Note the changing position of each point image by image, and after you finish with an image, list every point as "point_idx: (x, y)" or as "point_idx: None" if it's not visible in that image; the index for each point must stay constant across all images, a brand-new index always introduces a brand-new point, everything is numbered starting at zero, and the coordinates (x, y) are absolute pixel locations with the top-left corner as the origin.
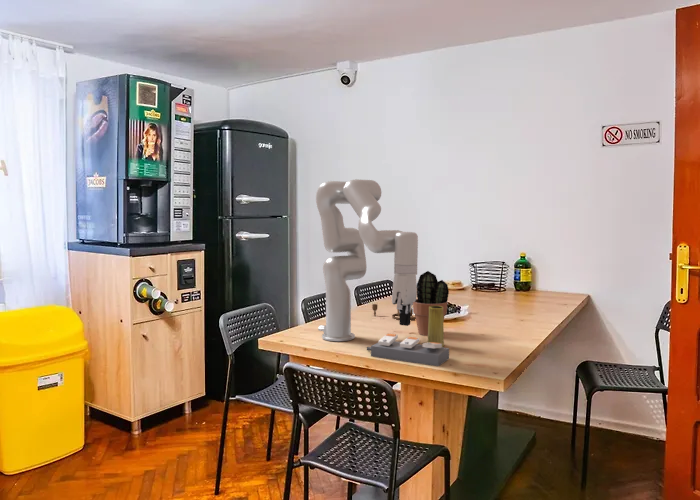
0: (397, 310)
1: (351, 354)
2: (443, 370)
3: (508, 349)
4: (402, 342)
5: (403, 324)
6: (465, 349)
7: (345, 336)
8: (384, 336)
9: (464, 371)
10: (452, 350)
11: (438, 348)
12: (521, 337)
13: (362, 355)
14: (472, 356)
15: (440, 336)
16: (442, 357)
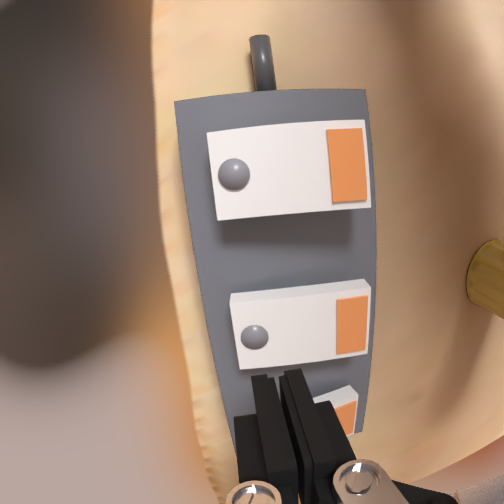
0: None
1: (155, 18)
2: (202, 449)
3: (481, 426)
4: (252, 310)
5: (255, 408)
6: (469, 369)
7: None
8: (305, 128)
9: (235, 480)
10: (451, 351)
11: None
12: None
13: (170, 68)
14: (402, 426)
15: (501, 317)
16: None
